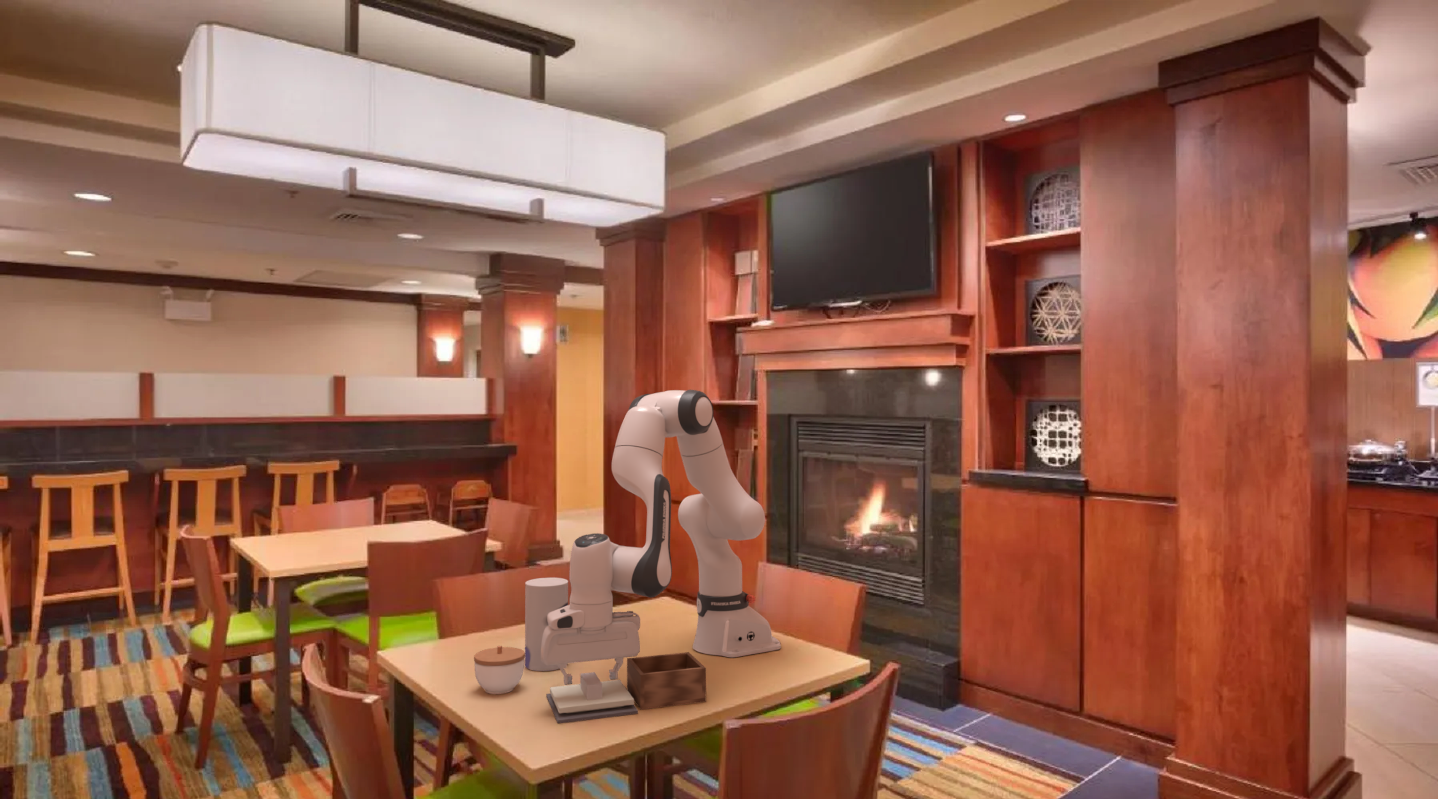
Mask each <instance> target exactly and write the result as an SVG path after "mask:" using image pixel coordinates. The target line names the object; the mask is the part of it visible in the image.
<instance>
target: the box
mask: <svg viewBox="0 0 1438 799" xmlns="http://www.w3.org/2000/svg"><path fill="white" fill-rule="evenodd" d="M626 689H627V690H628V692H629V693H630V694H631V696H632V697H633V699H634V704H636V705H637V707H638V708H639V710H649V709H656V708H664V707H665V708H666V707H674V706H680V705H690V704H698V703H705V702H706V701H707V667H706V666H704V665H703V664H702V663H701V662H700V661H699V660H698V659H697V658H696V657H695V656H693V655H692V653H690V652H689V651H688V652H687V651H686V652H677V653H676V652H675V653H666V654H658V655H647V656H645V655H644V656H638V657H637V656H634V657H626Z"/></svg>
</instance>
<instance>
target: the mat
mask: <svg viewBox="0 0 1438 799" xmlns="http://www.w3.org/2000/svg"><path fill="white" fill-rule="evenodd" d="M546 699H547V702H548V704H549V707H550V709H551V711H552V714H553V717H554V719H555V721H556V723H558V724H563V723H565V724H566V723H573V722H580V721H588V720H589V721H590V720H598V719H605V718H614V716H615V717H620V716H628V715H629V716H630V715H638V714H639V710H638V708H637V707H636V706H635V703H634V704H633V705H625V706H624V707H616V708H607V709H599V710H591V711H583V712H574V713H559V712H558V709H557V707H556V705H555V703H554V700H553V698H552V696H551V693H550V692H549V693H546Z"/></svg>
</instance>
